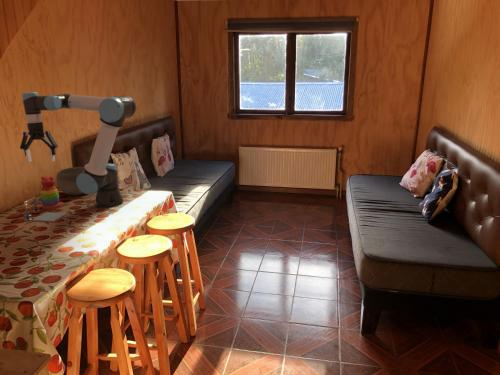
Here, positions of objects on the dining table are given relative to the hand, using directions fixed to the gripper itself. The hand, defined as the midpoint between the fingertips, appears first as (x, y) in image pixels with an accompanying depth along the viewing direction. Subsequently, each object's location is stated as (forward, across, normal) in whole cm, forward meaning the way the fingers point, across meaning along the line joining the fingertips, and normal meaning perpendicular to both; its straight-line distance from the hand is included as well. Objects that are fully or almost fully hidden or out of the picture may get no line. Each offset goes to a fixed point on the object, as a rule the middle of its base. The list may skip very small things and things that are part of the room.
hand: (41, 161), depth 230 cm
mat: (+26, -10, +16) cm, 33 cm away
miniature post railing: (+26, +1, +15) cm, 30 cm away
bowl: (+26, -2, -27) cm, 38 cm away
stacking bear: (+26, -1, 0) cm, 26 cm away
